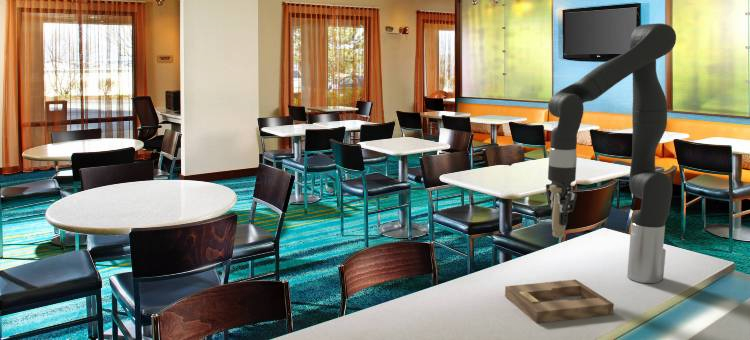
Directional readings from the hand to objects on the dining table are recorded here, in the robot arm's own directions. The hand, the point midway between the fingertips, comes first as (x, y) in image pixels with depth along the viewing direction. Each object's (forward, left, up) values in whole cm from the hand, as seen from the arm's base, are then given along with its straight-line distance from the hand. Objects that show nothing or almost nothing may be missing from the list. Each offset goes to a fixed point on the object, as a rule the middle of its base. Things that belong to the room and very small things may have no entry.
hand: (559, 222), depth 176 cm
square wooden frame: (+7, +13, -19) cm, 24 cm away
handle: (0, 0, -4) cm, 4 cm away
